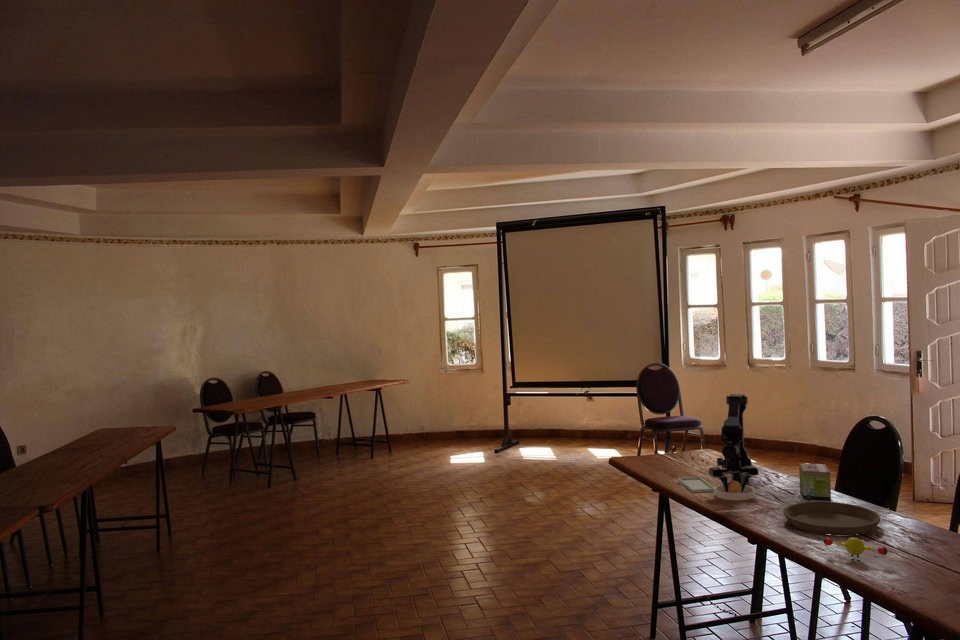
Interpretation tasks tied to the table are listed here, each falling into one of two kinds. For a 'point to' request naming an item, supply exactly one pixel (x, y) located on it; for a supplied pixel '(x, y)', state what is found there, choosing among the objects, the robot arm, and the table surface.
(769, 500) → the table surface
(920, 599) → the table surface
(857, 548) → the toy figure
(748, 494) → the bowl
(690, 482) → the tray
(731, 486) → the ball
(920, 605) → the table surface
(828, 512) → the plant saucer
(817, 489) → the tea box
